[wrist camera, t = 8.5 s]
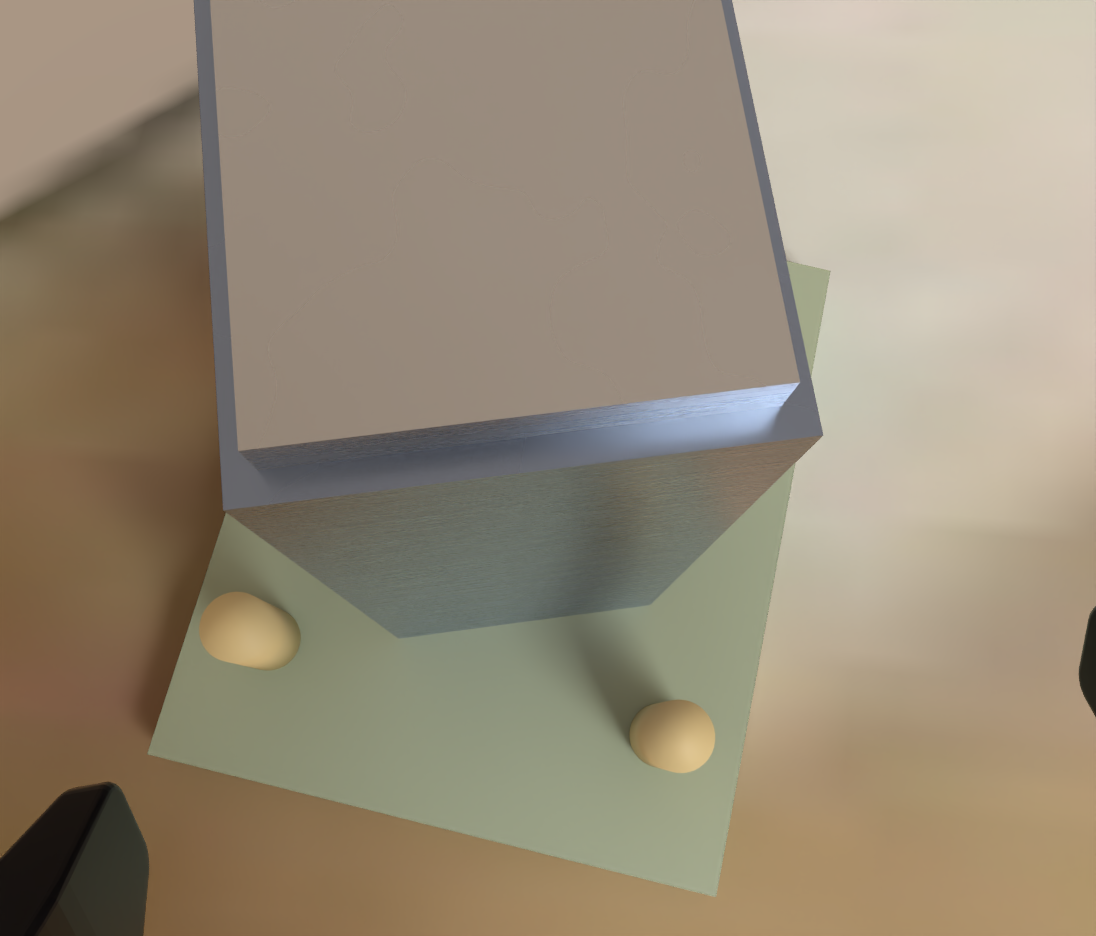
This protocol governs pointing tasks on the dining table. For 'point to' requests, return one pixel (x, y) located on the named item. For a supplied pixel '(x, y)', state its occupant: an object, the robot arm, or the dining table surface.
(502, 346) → the block
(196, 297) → the dining table surface
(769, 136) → the dining table surface
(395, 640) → the chassis
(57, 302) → the dining table surface
